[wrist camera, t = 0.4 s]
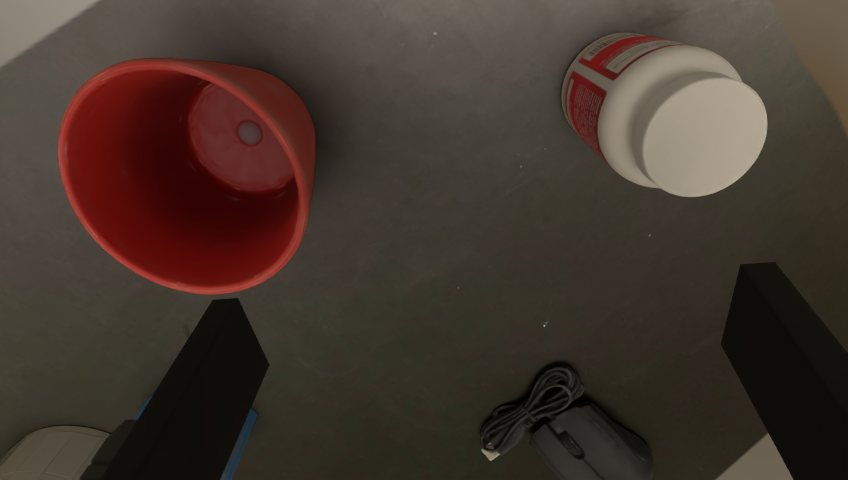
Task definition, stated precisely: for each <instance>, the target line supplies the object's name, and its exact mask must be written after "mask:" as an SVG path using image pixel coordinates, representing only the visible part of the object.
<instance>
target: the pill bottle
mask: <svg viewBox="0 0 848 480" xmlns="http://www.w3.org/2000/svg"><path fill="white" fill-rule="evenodd" d="M561 100H562V108H563V111H564V114H565V117H566V119H567V121H568V122H569V124H570V126H571V127H572V128H573V130H574V131H575V132H576V133H577V134H578V135H579V136H580V137H581V138H582V139H583V140H584V141H585V142H586V143H587V144H588V145H589V146H590V147H591V148H592V149H593V150H594V151H595V152H596V153H597V154H598V155H599V156H600V157H601V158H602V159H603V160H604V161H605V162H606V163H607V164H608V165H609V166H610V167H611V168H613V169H614V170H615V171H616V172H617V173H618V174H620V175H621V176H622V177H624V178H625V179H627V180H629V181H631V182H633V183H635V184H638V185H641V186H645V187H652V188H661V189H663V190H664V191H666V192H668V193H671V194H674V195H678V196H684V197H698V196H704V195H709V194H712V193H715V192H718V191H720V190H722V189H724V188H726V187H728V186H729V185H731V184H733V183H734V182H735V181H737V180H738V179H739V178H740V177H741V176H743V175H744V174H745V173H746V172H747V170H748V169H749V168H750V167H751V166H752V165H753V163H754V162H755V160H756V159H757V157H758V155H759V154H760V152H761V149H762V147H763V145H764V142H765V138H766V134H767V114H766V110H765V107H764V104H763V102H762V100H761V98H760V97H759V95H758V94H757V93H756V92H755V91H754V90H753V89H752V88H751V87H749V86H748V85H746V84H745V83H743V82H742V80H741V78H740V76H739V75H738V73H737V72H736V70H735V69H734V67H733V66H732V65H731V64H730V63H729V62H728V61H727V60H725V59H724V58H723V57H721V56H720V55H718V54H716V53H714V52H712V51H710V50H707V49H704V48H701V47H697V46H693V45H688V44H683V43H679V42H674V41H669V40H665V39H660V38H656V37H651V36H647V35H642V34H637V33H616V34H611V35H608V36H605V37H602V38H600V39H598V40H596V41H594V42H593V43H591V44H590V45H588V46H587V47H586V48H585V49H584V50H582V51H581V52H580V53H579V55H578V56H577V57H576V58H575V60H574V61H573V62H572V64H571V65H570V67H569V69H568V71H567V73H566V76H565V79H564V82H563V86H562V94H561Z"/></svg>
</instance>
